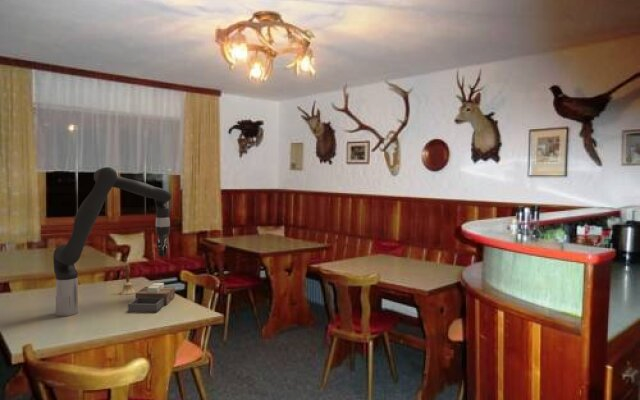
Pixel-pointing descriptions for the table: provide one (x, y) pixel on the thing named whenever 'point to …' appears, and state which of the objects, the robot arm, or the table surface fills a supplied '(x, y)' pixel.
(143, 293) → the drawer box
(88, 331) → the table surface
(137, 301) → the box
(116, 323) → the table surface
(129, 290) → the hand bell
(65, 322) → the table surface
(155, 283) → the tile far
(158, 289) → the tile near
